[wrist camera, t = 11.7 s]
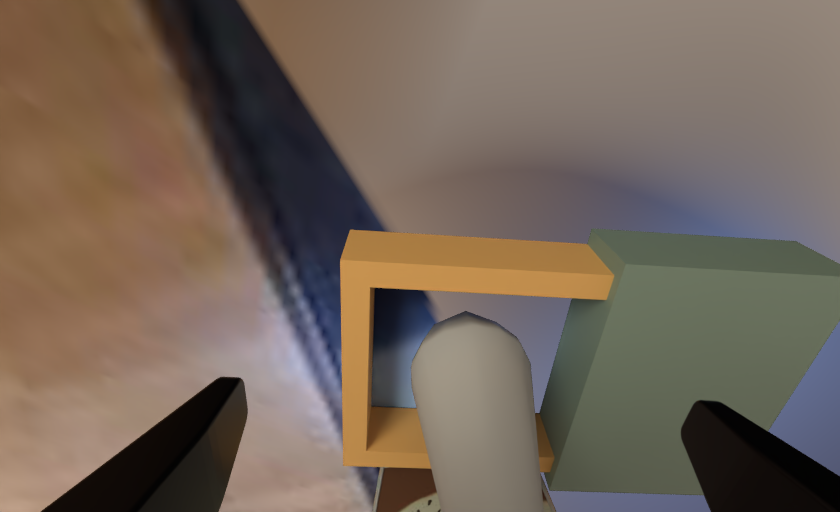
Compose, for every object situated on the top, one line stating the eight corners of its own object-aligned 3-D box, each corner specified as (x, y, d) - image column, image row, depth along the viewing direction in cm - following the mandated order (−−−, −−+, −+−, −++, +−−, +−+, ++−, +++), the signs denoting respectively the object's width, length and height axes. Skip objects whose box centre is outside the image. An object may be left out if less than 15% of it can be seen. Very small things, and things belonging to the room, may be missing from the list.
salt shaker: (391, 324, 22) (368, 642, 10) (492, 279, 21) (594, 580, 9) (440, 396, 24) (467, 720, 13) (533, 360, 23) (656, 679, 12)
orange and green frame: (689, 442, 26) (726, 495, 23) (350, 429, 25) (342, 484, 22) (796, 241, 20) (866, 278, 17) (350, 213, 19) (338, 247, 16)
